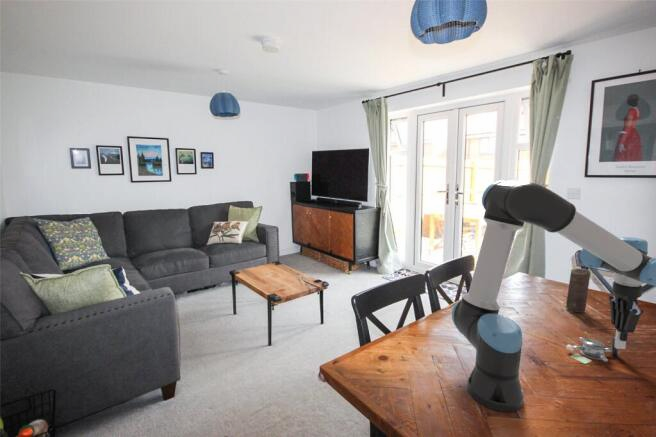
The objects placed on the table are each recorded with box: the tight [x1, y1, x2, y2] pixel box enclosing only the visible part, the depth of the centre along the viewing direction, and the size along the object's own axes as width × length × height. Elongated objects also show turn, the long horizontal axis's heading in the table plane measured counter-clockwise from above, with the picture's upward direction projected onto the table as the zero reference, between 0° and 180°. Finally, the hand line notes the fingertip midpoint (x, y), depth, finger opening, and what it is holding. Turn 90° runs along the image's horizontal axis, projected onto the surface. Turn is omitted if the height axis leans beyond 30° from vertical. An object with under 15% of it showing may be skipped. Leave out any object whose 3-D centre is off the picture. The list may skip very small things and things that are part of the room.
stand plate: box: [569, 350, 606, 365], centre depth 119 cm, size 20×13×1 cm, turn 114°
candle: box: [565, 268, 591, 313], centre depth 154 cm, size 8×7×20 cm
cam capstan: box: [565, 336, 620, 363], centre depth 119 cm, size 15×17×7 cm
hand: (619, 347), depth 116 cm, fingers closed
